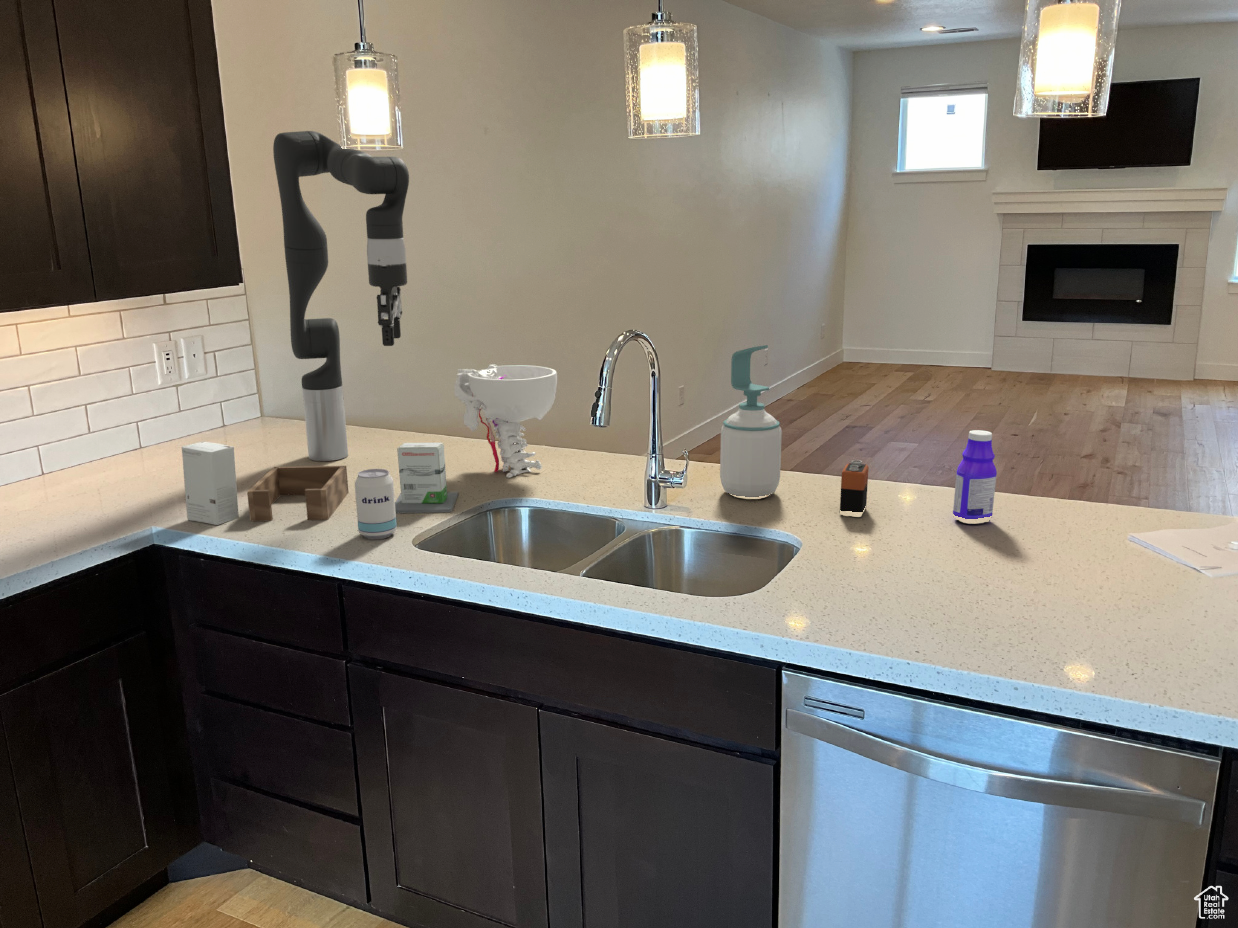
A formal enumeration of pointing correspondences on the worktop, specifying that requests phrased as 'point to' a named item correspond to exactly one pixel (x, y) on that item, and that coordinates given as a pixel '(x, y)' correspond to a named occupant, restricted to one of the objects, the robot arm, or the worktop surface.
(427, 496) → the ink box
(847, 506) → the battery
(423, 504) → the mat
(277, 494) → the crate
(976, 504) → the bottle
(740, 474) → the soap bottle
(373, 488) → the beverage can
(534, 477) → the worktop surface
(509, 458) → the skull
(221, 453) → the skincare box
